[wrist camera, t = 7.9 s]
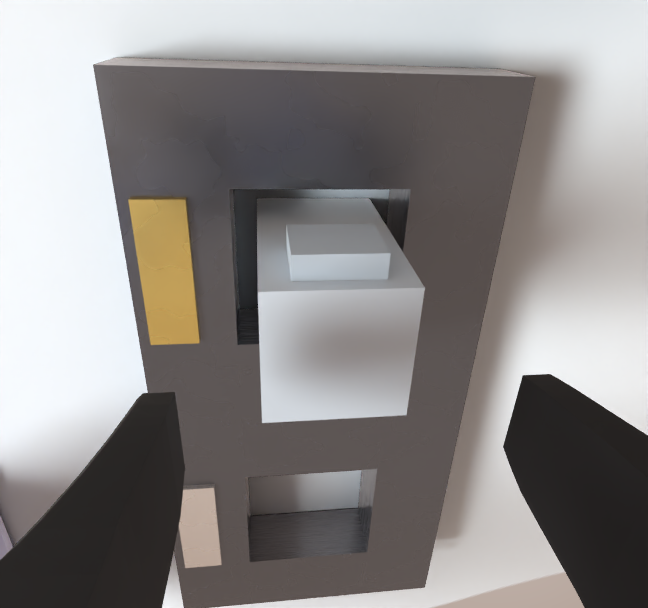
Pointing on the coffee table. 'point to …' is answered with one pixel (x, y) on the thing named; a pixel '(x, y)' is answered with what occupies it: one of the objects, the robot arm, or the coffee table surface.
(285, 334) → the plug
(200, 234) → the panel
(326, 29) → the coffee table surface
